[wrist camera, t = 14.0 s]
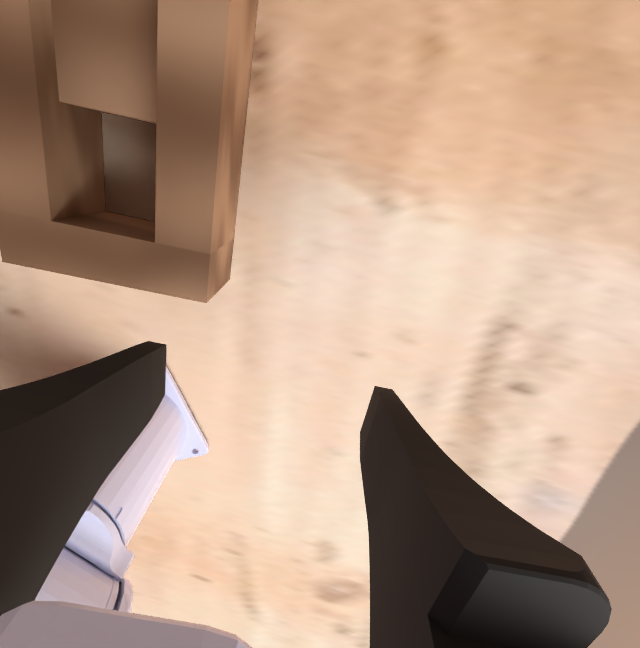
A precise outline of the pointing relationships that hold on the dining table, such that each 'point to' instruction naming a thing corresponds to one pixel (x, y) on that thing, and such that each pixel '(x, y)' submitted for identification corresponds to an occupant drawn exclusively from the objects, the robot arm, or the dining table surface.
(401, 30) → the dining table surface
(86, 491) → the robot arm
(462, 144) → the dining table surface
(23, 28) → the walnut frame
